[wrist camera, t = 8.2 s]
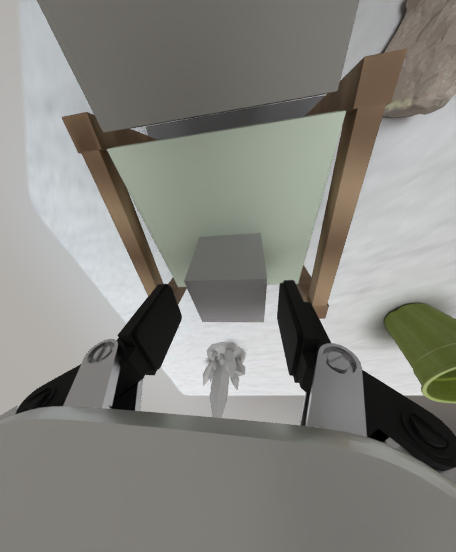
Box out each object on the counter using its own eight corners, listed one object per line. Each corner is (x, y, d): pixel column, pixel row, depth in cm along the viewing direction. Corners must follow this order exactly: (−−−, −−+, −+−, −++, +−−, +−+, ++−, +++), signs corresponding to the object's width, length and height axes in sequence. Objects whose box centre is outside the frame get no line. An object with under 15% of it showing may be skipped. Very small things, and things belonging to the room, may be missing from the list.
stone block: (199, 236, 13) (184, 281, 10) (260, 232, 13) (267, 278, 9) (211, 278, 17) (202, 321, 13) (259, 276, 16) (263, 322, 13)
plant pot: (376, 344, 34) (426, 409, 25) (362, 308, 29) (417, 371, 20) (450, 325, 30) (546, 396, 20) (448, 280, 25) (571, 344, 16)
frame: (161, 147, 19) (61, 117, 9) (308, 125, 17) (407, 48, 7) (190, 263, 28) (156, 318, 17) (292, 258, 26) (325, 318, 15)
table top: (147, 127, 19) (146, 126, 18) (323, 97, 16) (324, 95, 16) (187, 274, 29) (187, 275, 29) (297, 270, 27) (298, 271, 26)
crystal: (255, 344, 38) (259, 428, 26) (235, 370, 45) (231, 446, 33) (215, 332, 37) (200, 413, 25) (201, 360, 44) (184, 434, 32)
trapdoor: (66, 17, 8) (-2, -20, 5) (373, -74, 6) (445, -178, 4) (182, 274, 20) (175, 293, 18) (293, 270, 18) (300, 291, 16)
